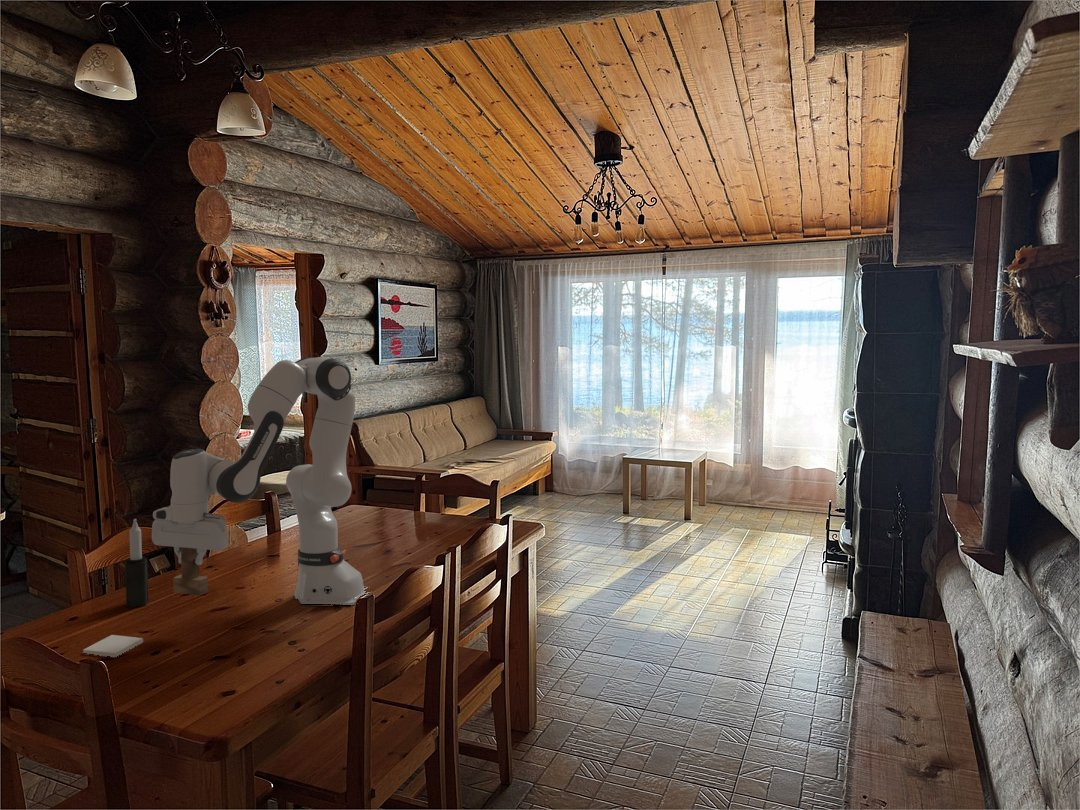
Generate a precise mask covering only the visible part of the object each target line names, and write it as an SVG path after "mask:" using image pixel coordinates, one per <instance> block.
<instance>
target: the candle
mask: <svg viewBox="0 0 1080 810" xmlns="http://www.w3.org/2000/svg"><path fill="white" fill-rule="evenodd" d="M132 521H133V522H132V527H131V528H130V529H129V532H128V533H129V557H128V558H127V559H126V561H125V563H124V565H125V566H124V570H125V571H124V572H125V573H124V575H125V576H124V577H125V600H126V603H125V604H126V606H127V607H132V608H134V607H133V606H142V607H145V606H144V605H146V604H148V602H149V584H148V583H149V582H148V558H147V557H145V556H143V553H142V552H143V551H142V529H141V528H140V527H139V524H138V522H137V518H134V519H132ZM147 601H148V602H147ZM146 606H147V605H146ZM127 607H126V608H127Z"/></svg>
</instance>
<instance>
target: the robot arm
mask: <svg viewBox="0 0 1080 810" xmlns="http://www.w3.org/2000/svg"><path fill="white" fill-rule="evenodd" d="M351 384H352V374H351V370H350V368H349V365H347V364H346V363H345V362H343V361H342V360H339V359H337V358H329V357H323V356H318V357H303V358H300V359H298V360H296V361H294V360H293V361H292V360H288V359H283V360H282V359H281V360H280V361H278V362H276V363H275V364H274V365H273V366H272V367H271V368H270V369H269V370H268V371H267V373H266V374H265V375H264V377H263V378H262V379H261V380H260V382H259V383H258V385H257V386H256V388H255V389H254V391H253V393H252V394H251V396H250V398H249V401H248V402H247V410H248V411H247V412H248V415H249V417H250V419H251V420H252V422H253V425H254V430H253V433H252V435H251V437H250V440H249V441H248V443H247V444H246V447H245V449H244V451H243V452H242V454H241V456H240V457H239V459H237V460H236V461H233V460H230V459H226V458H222V457H220V456H216V455H213V454H211V453H208V452H207V451H205V449H203V448H189V449H185V450H182V451H180V452H178V453H176V454H175V455H174V456H173V457H172V459H171V463H170V464H171V465H170V473H169V474H170V476H169V477H170V478H169V483H170V484H169V485H170V489H171V492H172V493H171V498H170V505H167V506H165V507H161V508H158V509H156V510H154V511H153V512H152V518H153V519H154V520H153V521H152V526H151V541H152V542H153V545H155V546H162V547H173V551H174V553H175V555H176V556H177V558H178V559H177V560H178V564H180V565H181V547H184V548H194V549H197V553H199V554H198V556H197V557H196V558H194V559H193V561H194V563H193V564H194V565H199V566H200V565H202V564H203V563H204V559H203V558H204V556H205V554H206V553H207V550H209V551H222V550H223V549H226V548H227V547H228V545H229V535H228V528H227V520H226V518H225V517H224V516H222V514H220V513H210V512H209V497H210V496H211V495H216V496H219V497H221V498H223V499H225V500H227V501H228V502H230V503H234V504H239V503H245V502H246V501H248V500H250V499H252V498H253V497H254V495H255V494H256V493H257V491H258V489H259V487H260V483H261V477H262V473H263V470H264V468H265V466H266V464H267V462H268V460H269V458H270V456H271V454H272V452H273V450H274V448H275V446H276V444H277V442H278V440H279V438H280V436H281V435H282V434H281V433H282V431H283V429H284V426H285V425H284V424H285V422H286V419H287V418H288V416H289V414H290V413H291V411H292V409H293V408H294V406H295V404H296V402H297V401H298V399H299V397H300V396H302V394H304V393H308V394H311V395H315V396H317V400H318V404H317V405H318V406H317V407H318V408H317V410H316V413H315V416H314V421H313V425H312V430H311V433H310V437H309V441H308V442H309V443H308V444H309V448H310V450H311V454H312V464H310V463H308V464H300V465H296V466H294V467H293V468H291V469H290V470H289V472H288V474H287V476H286V479H285V484H286V485H285V486H286V489H287V490H288V492H289V493H290V495H291V498H292V501H293V504H294V509H295V512H296V513H295V514H296V517H297V522H298V536H299V537H298V540H299V541H298V543H299V546H298V549H297V566H298V575H297V580H296V581H297V583H296V588H295V591H294V595H293V597H294V596H295V597H294V599H295V600H297V599H298V600H297V601H299V604H300V603H301V604H331V605H330V606H333V605H332V604H340V605H341V604H343V605H351V606H355V605H356V604H355V602H356V600H357V599H358V598H359V597H360V596H362V595H364V594H368V593H372V591H371V592H367V593H365V592H366V591H364V590H365V589H367V588H368V587H369V586H364V581H363V576H362V573H361V572H360V571H359V570H357V569H356V568H355V567H354V566H352V565H351V564H350V563H348V562H347V561H346V560H344V555H345V554H346V551H347V549H344V550H341V549H340V547H339V545H338V544H339V543H338V535H339V534H338V533H339V532H338V521H337V518H336V517H335V515H334V513H333V511H332V508H335V507H336V508H337V507H341V506H343V505H344V504H346V503H347V502H348V500H349V499H350V497H351V496H352V489H353V488H352V483H351V480H350V479H349V476H348V472H347V452H348V445H349V441H350V436H351V432H352V428H353V423H354V417H355V410H356V396H355V394H354V392H353V391H352V390H351V389H352V385H351ZM364 587H366V588H364ZM301 604H300V605H301Z"/></svg>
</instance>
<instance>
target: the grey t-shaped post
mask: <svg viewBox="0 0 1080 810" xmlns="http://www.w3.org/2000/svg"><path fill="white" fill-rule="evenodd" d="M198 554H199V553H197V549H194V548H184V547H181V564H180V565H181V573H180V574H178V575H176V576H174V577H172V580H173V581H172V583H173V584H172V585H173V589H172V590H173V593H174V594H185V595H191V596H194V595H195V596H202V595H204V594H206V593H208V592H209V576H206V575H200V565H194V564H193V563H194V561H193V559H194V558H196V557H197V556H198Z"/></svg>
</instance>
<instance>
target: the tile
mask: <svg viewBox="0 0 1080 810" xmlns="http://www.w3.org/2000/svg"><path fill="white" fill-rule="evenodd" d="M142 643H144V638H143V637H134V636H126V635H118V634H117V635H116V634H111V635H109V636H106V637H105V638H102V639H101V640H99V641H97V642H95V643H93V644H92V645H90V646H88V647H86V648H84V649H83V650H82V651H83V652H82V654H83V653H87V654H86V655H89V654H94V655H93V656H97V655H99V656H100V657H107V656H110V657H109V658H115V657H116V658H118V657H119V655H120V656H122V655H123V654H125V653H127V652H129V651H130V650H132V649H134V648H135V646H136V647H138V646H139V645H142ZM129 649H130V650H129ZM126 651H127V652H126ZM124 652H125V653H124ZM122 653H123V654H122ZM99 656H98V657H99ZM117 656H118V657H117ZM107 658H108V657H107Z"/></svg>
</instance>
